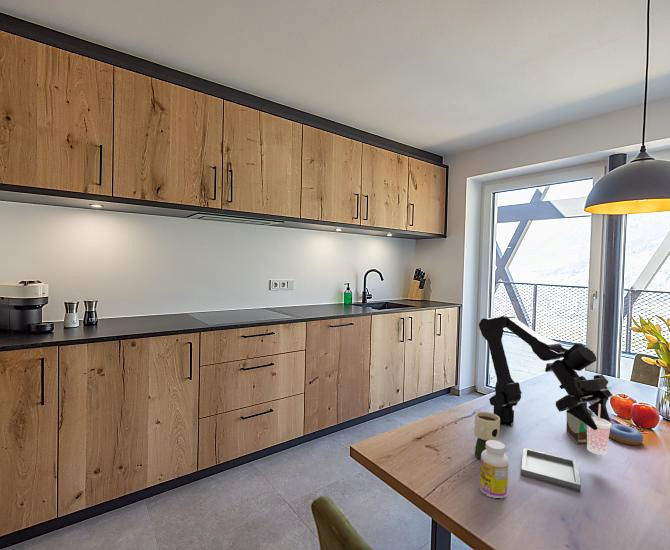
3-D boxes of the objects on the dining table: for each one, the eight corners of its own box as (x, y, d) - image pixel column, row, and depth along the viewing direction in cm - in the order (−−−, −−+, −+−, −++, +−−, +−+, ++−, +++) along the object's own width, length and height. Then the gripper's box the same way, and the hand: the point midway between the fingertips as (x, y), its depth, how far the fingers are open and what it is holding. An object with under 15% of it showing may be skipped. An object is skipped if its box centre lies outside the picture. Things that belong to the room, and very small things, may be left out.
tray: (521, 475, 105) (521, 469, 105) (523, 453, 117) (523, 447, 117) (580, 492, 98) (580, 484, 98) (576, 466, 111) (576, 460, 110)
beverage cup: (614, 456, 107) (618, 408, 106) (594, 456, 106) (598, 408, 106) (598, 445, 113) (601, 400, 112) (579, 445, 113) (582, 400, 112)
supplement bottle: (474, 484, 101) (477, 438, 100) (498, 483, 101) (500, 437, 101) (487, 500, 94) (489, 451, 93) (512, 499, 95) (514, 450, 94)
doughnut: (646, 439, 128) (645, 426, 128) (640, 450, 122) (639, 436, 122) (611, 431, 136) (610, 419, 136) (603, 441, 129) (602, 428, 129)
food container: (600, 448, 122) (602, 418, 121) (579, 446, 123) (581, 416, 122) (583, 431, 134) (585, 404, 133) (564, 429, 135) (566, 402, 134)
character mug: (492, 469, 108) (494, 425, 107) (467, 460, 112) (469, 418, 112) (502, 454, 116) (504, 413, 116) (479, 446, 121) (481, 407, 120)
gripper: (567, 368, 108) (605, 421, 99) (607, 362, 116) (646, 411, 106) (541, 386, 116) (574, 437, 106) (580, 379, 123) (614, 426, 114)
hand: (603, 427), depth 108 cm, fingers closed on beverage cup, 6 cm apart
